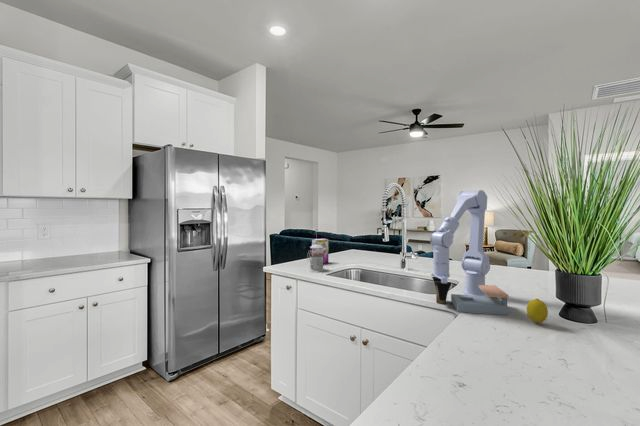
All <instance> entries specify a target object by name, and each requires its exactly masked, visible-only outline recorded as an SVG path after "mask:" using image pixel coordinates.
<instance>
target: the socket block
mask: <svg viewBox="0 0 640 426" xmlns="http://www.w3.org/2000/svg"><path fill="white" fill-rule="evenodd" d="M479 288H480V289H481V290H482V291H483V292H484V293H485V294H486V295H488V296H478V295H466V294H453V293H452V294H451V295H450V297H451V298H450V302H451V303H452V305H453V307H454V308H455V311H457V313H473V314H474V313H475V314H488V315H489V314H490V315H506V316H508V315H509V308H508V307H509V305H508V299H509V294H508V293H506V292H505V291H504V290H502V289H501V288H500V287H498V286H497V285H490V284H488V285H486V284H485V285H479ZM500 298H501V299H500Z"/></svg>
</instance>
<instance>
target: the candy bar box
mask: <svg viewBox="0 0 640 426" xmlns="http://www.w3.org/2000/svg"><path fill="white" fill-rule="evenodd" d="M313 245H316V238H314V239H311V246H313ZM317 245H321V246H323V248H320V249H317V253H322V255H320V256H323V263H324V264H327V263H326V262H328V263H329V250H330V249H329V248H330V247H329V239H328V238H317ZM312 250H313V251H312ZM311 252H313V253H316V249H312V248H311ZM311 256H314V255H311ZM318 260H319V259H318ZM318 262H319V261H318Z"/></svg>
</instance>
